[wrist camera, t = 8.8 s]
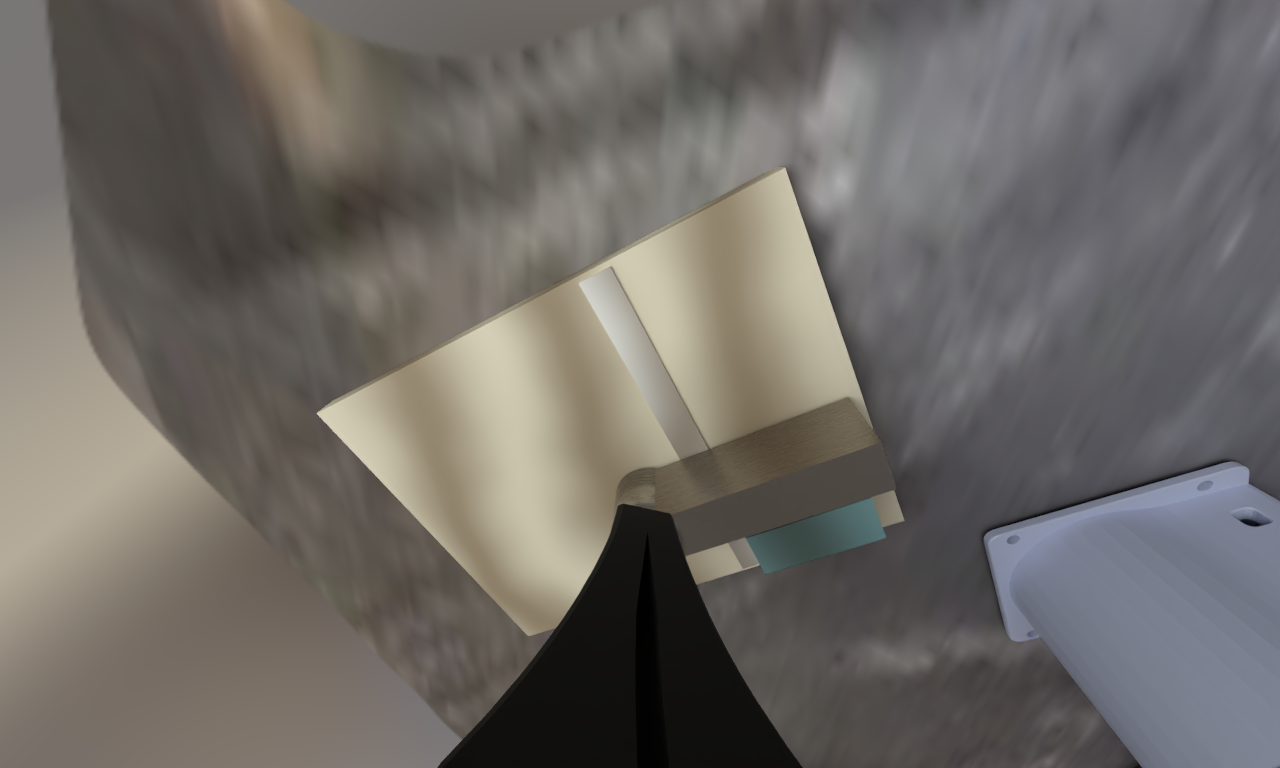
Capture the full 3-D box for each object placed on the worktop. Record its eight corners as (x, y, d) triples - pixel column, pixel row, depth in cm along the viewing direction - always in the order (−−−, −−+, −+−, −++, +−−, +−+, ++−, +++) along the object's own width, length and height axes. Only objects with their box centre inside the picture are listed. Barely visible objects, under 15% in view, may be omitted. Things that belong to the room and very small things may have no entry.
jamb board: (777, 166, 14) (814, 171, 11) (893, 504, 20) (941, 576, 16) (332, 400, 19) (259, 456, 15) (533, 618, 24) (512, 693, 21)
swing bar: (634, 525, 19) (628, 594, 16) (605, 482, 18) (593, 546, 15) (864, 445, 17) (908, 508, 14) (846, 390, 16) (888, 446, 13)
